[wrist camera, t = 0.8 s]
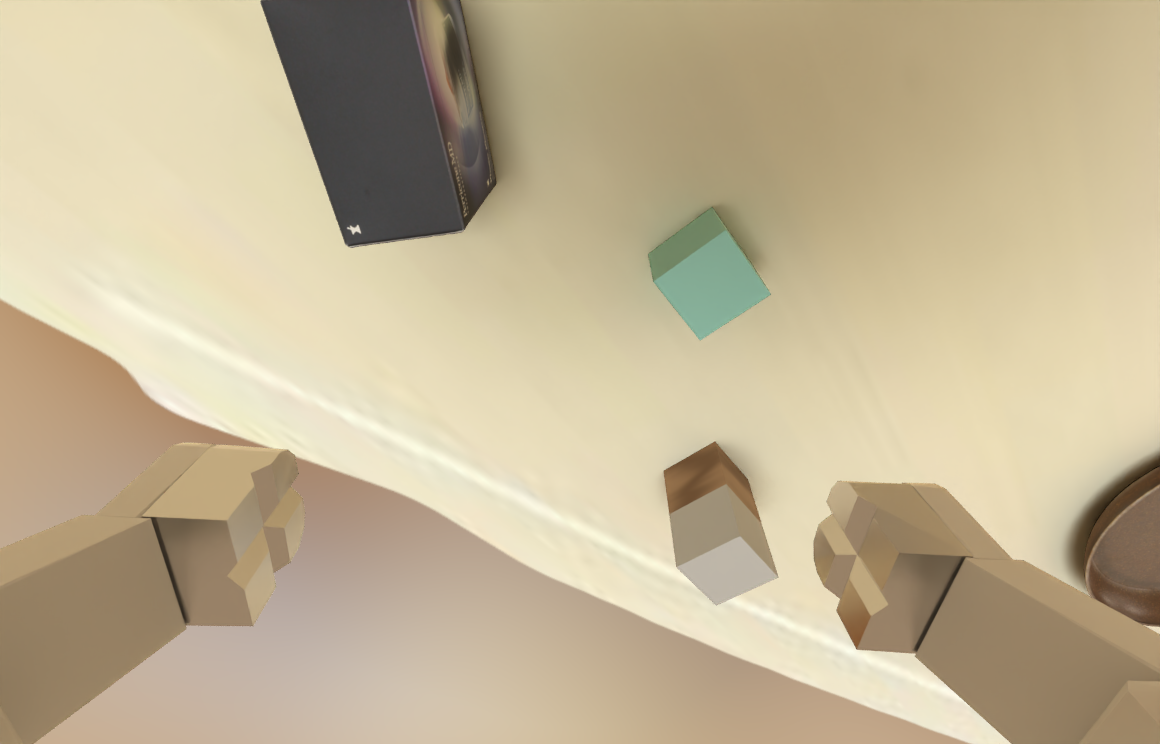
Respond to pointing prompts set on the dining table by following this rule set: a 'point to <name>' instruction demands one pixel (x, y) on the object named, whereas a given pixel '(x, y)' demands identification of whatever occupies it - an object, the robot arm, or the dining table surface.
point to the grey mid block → (721, 546)
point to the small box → (388, 112)
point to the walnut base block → (705, 479)
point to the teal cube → (706, 275)
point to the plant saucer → (1128, 552)
